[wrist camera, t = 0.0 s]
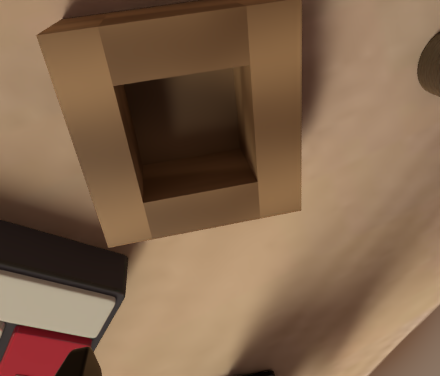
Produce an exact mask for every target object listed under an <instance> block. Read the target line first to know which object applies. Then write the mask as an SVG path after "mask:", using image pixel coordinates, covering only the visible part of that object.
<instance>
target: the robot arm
mask: <svg viewBox="0 0 440 376" xmlns="http://www.w3.org/2000/svg"><path fill="white" fill-rule="evenodd" d="M55 376H102V372H101V368H100V366H99V363H98V361H97V359H96V357H95V354H94V352H93V350H92V348H91V347H89V346H88V347H82V348H77V349H74V350H72V351H70V353H69V354H68V355H67V357H66V358H65V360H64V361H63V363H62V365H61V366H60V368H59V369H58V371H57V372H56V374H55ZM249 376H275V374H274V372H273V371H266V372H262V373H257V374H253V375H249Z"/></svg>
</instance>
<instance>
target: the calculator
mask: <svg viewBox="0 0 440 376" xmlns="http://www.w3.org/2000/svg"><path fill="white" fill-rule="evenodd" d="M127 266H128V258H127V257H126V256H125V255H123V254H119V253H116V252H112V251H109V250H105V249H102V248H98V247H95V246H91V245H87V244H84V243H80V242H77V241H73V240H70V239H66V238H63V237H59V236H56V235H52V234H49V233H45V232H42V231H38V230H35V229H31V228H28V227H24V226H20V225H17V224H13V223H10V222H6V221H3V220H0V376H55V374H56V372H57V371H58V369H59V368H60V366H61V365H62V363H63V361H64V360H65V358H66V357H67V355H68V354H69V353H70V351H72V350H74V349H77V348H82V347H88V346H89V347H91V348H92V350H93V352H94V350H95V348H96V347H97V345H98V343H99V341H100V340H101V338H102V336H103V334H104V333H105V331H106V329H107V328H108V326H109V324H110V322H111V321H112V319H113V317H114V315H115V314H116V312H117V310H118V308H119V307H120V305H121V303H122V301H123V300H124V298H125V292H126V279H127Z"/></svg>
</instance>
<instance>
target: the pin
mask: <svg viewBox="0 0 440 376" xmlns="http://www.w3.org/2000/svg"><path fill="white" fill-rule="evenodd" d="M417 75H418V80H419V82H420V84H421V86H422V87H423V88H424V89H425V90H426V91H428V92H430V93H432V94H434V95H436V96H439V97H440V32H439V33H438V34H436V35H435V36H434V37H433V38H432V39H431V40H430V41H429V43H428V44H427V45H426V47H425V48H424V50H423V52H422V54H421V56H420V59H419V63H418V69H417Z"/></svg>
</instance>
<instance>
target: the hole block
mask: <svg viewBox="0 0 440 376" xmlns="http://www.w3.org/2000/svg"><path fill="white" fill-rule="evenodd" d="M36 36H37V39H38V42H39V45H40V48H41V50H42V53H43V56H44V59H45V62H46V65H47V68H48V71H49V74H50V77H51V80H52V83H53V86H54V89H55V92H56V95H57V98H58V101H59V104H60V107H61V110H62V112H63V115H64V118H65V121H66V124H67V127H68V130H69V133H70V136H71V139H72V142H73V145H74V148H75V151H76V154H77V157H78V160H79V163H80V166H81V169H82V171H83V174H84V177H85V180H86V183H87V186H88V189H89V192H90V195H91V198H92V201H93V204H94V207H95V210H96V213H97V216H98V219H99V222H100V225H101V228H102V231H103V233H104V236H105V239H106V242H107V245H108V248H111V247H116V246H121V245H126V244H131V243H136V242H141V241H147V240H152V239H157V238H162V237H167V236H172V235H178V234H183V233H188V232H193V231H198V230H203V229H208V228H214V227H219V226H224V225H229V224H234V223H239V222H244V221H250V220H255V219H260V218H265V217H270V216H275V215H280V214H286V213H291V212H296V211H301V123H302V0H198V1H191V2H184V3H176V4H169V5H162V6H155V7H147V8H140V9H133V10H125V11H118V12H111V13H103V14H96V15H89V16H82V17H74V18H67V19H61V20H60V21H58V22H57V23H55V24H53V25H52V26H50V27H49V28H47V29H46V30H44V31H42V32H41V33H39V34H38V35H36Z"/></svg>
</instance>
